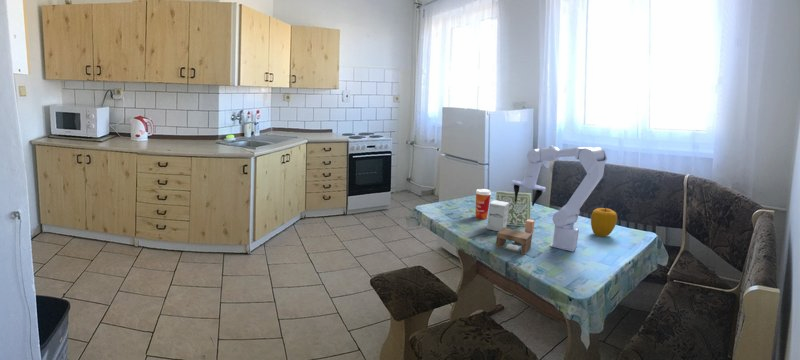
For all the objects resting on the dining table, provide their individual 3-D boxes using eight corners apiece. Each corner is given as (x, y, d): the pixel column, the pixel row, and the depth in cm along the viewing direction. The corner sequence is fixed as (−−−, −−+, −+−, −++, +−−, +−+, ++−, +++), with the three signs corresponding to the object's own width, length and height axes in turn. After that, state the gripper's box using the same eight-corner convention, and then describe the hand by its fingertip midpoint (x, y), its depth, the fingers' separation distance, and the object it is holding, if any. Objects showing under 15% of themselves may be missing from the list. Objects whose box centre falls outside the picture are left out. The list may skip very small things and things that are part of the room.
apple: (617, 240, 200) (621, 213, 197) (591, 238, 202) (595, 210, 199) (611, 232, 210) (615, 206, 207) (586, 230, 212) (590, 203, 209)
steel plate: (520, 249, 186) (520, 246, 186) (516, 252, 182) (517, 250, 182) (508, 246, 189) (509, 243, 189) (504, 249, 185) (505, 247, 184)
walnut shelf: (530, 248, 186) (532, 233, 185) (524, 254, 179) (526, 239, 178) (502, 241, 192) (503, 227, 191) (495, 247, 185) (497, 232, 184)
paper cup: (470, 216, 226) (472, 189, 223) (483, 214, 229) (485, 188, 226) (479, 220, 219) (481, 193, 216) (492, 219, 222) (494, 192, 219)
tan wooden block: (533, 233, 205) (534, 220, 204) (521, 244, 190) (522, 231, 189) (526, 231, 207) (528, 219, 205) (514, 243, 192) (515, 229, 190)
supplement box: (486, 229, 207) (489, 203, 204) (491, 225, 214) (493, 199, 211) (502, 232, 204) (505, 205, 201) (506, 228, 210) (509, 202, 207)
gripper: (547, 175, 200) (540, 203, 205) (515, 168, 203) (508, 196, 208) (548, 180, 194) (540, 209, 199) (514, 173, 197) (507, 201, 201)
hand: (524, 203), depth 203 cm, fingers open, 7 cm apart
